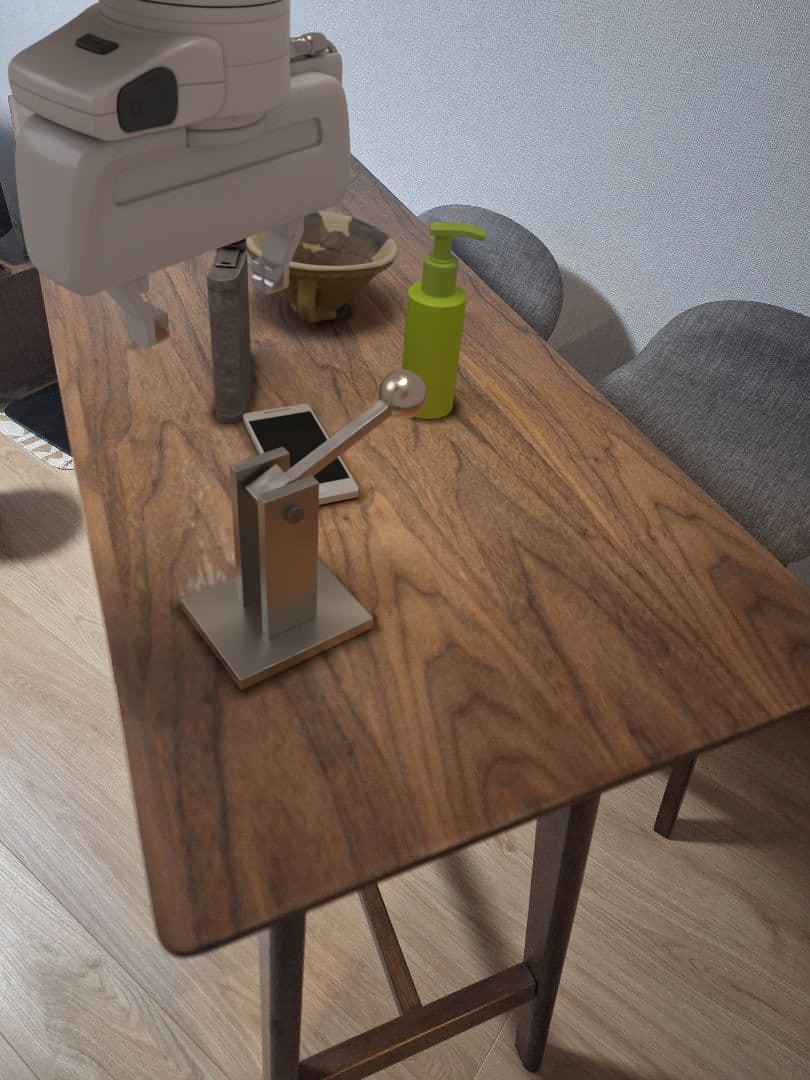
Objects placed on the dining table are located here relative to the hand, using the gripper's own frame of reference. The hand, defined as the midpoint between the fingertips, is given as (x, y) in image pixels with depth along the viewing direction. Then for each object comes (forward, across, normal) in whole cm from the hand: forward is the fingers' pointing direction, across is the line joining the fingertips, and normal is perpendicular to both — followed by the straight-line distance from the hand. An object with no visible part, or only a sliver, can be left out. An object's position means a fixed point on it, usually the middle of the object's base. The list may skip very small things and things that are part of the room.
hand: (213, 313), depth 53 cm
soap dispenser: (+28, -38, -9) cm, 48 cm away
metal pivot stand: (+28, -4, +1) cm, 28 cm away
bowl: (+28, -46, -32) cm, 62 cm away
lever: (+14, -10, +3) cm, 18 cm away
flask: (+28, -26, -26) cm, 46 cm away
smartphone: (+28, -21, -13) cm, 37 cm away
